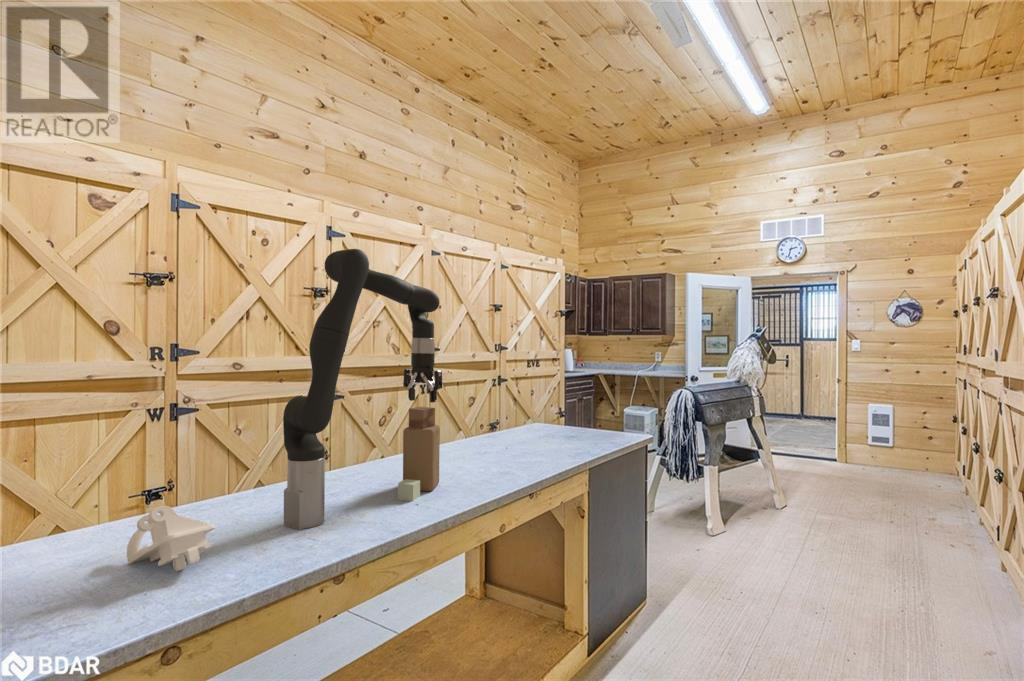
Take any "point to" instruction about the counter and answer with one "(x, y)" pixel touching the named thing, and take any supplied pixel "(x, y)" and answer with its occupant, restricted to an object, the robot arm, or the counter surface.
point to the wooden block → (421, 456)
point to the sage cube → (409, 490)
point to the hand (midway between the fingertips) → (422, 401)
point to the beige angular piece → (169, 538)
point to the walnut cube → (421, 417)
